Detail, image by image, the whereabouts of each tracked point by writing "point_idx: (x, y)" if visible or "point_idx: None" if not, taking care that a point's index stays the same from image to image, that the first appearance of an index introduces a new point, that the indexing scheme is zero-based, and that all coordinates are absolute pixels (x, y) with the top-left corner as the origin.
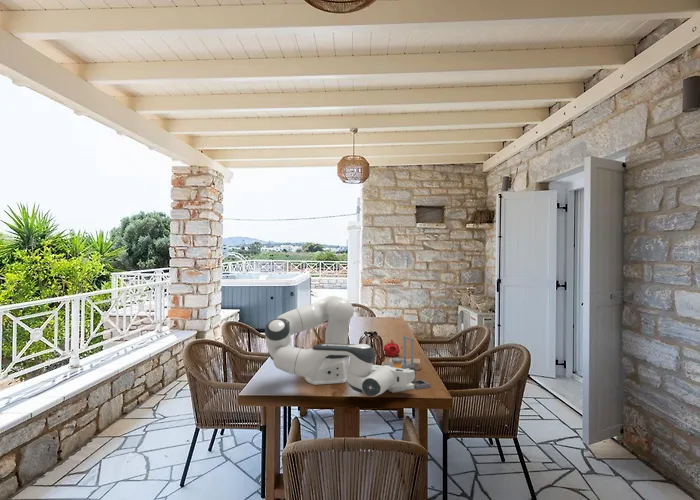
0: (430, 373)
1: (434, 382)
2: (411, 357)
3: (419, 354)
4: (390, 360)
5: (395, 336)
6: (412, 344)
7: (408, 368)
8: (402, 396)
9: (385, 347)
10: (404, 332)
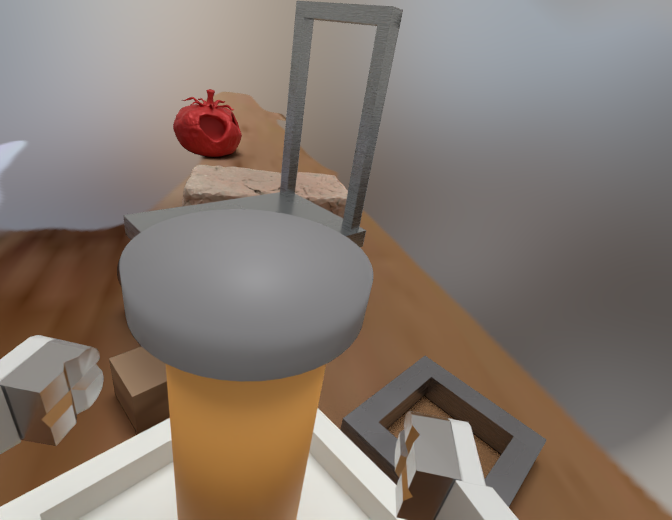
0: (404, 256)
1: (493, 357)
2: (354, 181)
3: (305, 154)
4: (194, 179)
5: (225, 102)
6: (386, 67)
7: (472, 434)
8: None
9: (182, 117)
10: (247, 98)
